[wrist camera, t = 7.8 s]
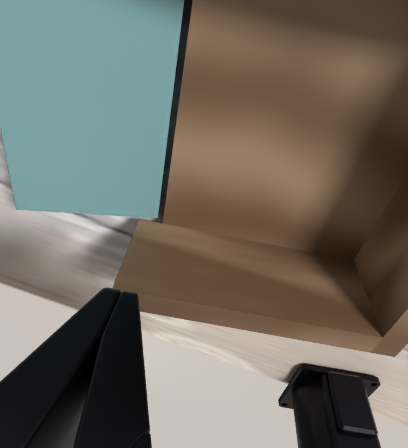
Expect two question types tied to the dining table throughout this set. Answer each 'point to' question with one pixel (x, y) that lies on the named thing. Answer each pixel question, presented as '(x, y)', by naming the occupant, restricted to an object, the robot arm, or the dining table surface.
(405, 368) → the dining table surface
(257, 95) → the crate
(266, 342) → the dining table surface
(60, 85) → the panel
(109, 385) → the robot arm
